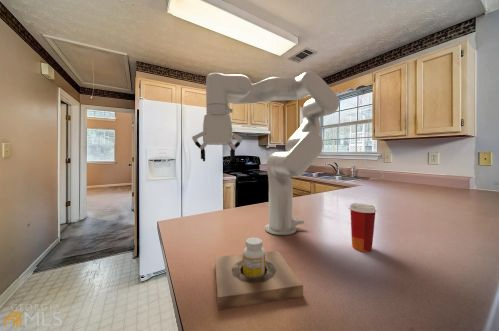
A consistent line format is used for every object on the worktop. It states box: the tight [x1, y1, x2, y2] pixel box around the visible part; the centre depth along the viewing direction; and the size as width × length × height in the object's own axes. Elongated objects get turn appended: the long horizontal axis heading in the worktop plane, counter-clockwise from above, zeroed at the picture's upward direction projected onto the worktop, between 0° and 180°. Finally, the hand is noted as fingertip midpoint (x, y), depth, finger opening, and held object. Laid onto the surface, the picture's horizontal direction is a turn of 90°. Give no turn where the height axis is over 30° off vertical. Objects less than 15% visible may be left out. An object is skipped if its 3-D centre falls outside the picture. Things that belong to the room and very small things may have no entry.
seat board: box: [214, 250, 304, 310], centre depth 49 cm, size 18×16×2 cm
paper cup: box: [348, 202, 378, 253], centre depth 65 cm, size 8×8×14 cm
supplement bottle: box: [242, 237, 266, 278], centre depth 49 cm, size 5×5×10 cm
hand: (218, 161), depth 71 cm, fingers open, 9 cm apart
